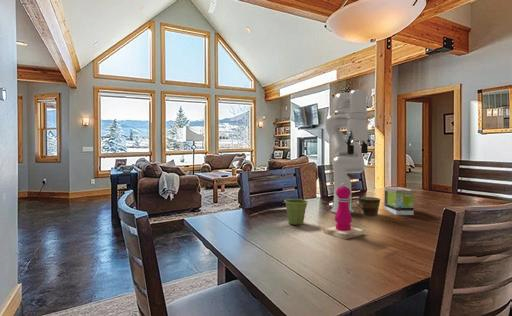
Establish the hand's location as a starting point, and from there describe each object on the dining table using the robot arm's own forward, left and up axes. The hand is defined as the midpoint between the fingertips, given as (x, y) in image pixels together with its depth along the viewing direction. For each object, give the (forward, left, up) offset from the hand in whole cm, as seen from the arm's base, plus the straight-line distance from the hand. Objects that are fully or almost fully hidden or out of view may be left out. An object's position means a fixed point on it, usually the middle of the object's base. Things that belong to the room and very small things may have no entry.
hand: (357, 153), depth 133 cm
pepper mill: (+3, -14, -33) cm, 36 cm away
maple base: (+3, -14, -35) cm, 38 cm away
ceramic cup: (-11, +23, -35) cm, 43 cm away
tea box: (-5, +43, -35) cm, 55 cm away
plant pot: (-22, -19, -35) cm, 45 cm away
